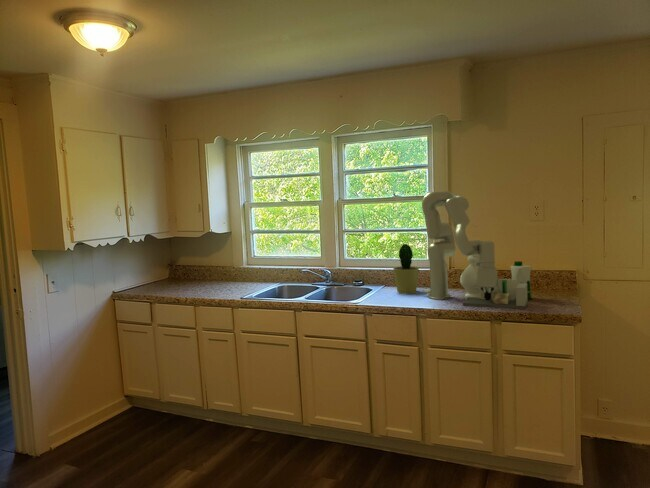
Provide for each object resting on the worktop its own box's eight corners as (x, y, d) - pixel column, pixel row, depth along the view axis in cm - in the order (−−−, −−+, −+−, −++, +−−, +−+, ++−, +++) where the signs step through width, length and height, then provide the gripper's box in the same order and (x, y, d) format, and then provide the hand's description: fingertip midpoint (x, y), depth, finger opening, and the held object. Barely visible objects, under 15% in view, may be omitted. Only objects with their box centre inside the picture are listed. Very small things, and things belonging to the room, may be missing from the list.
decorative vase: (500, 296, 273) (499, 252, 271) (474, 300, 267) (473, 254, 265) (479, 291, 290) (478, 249, 288) (454, 295, 283) (452, 252, 281)
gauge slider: (492, 303, 250) (492, 285, 250) (495, 299, 259) (495, 281, 258) (507, 304, 247) (507, 285, 246) (510, 300, 256) (509, 282, 255)
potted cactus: (389, 291, 305) (388, 243, 302) (412, 288, 309) (410, 241, 306) (400, 295, 290) (399, 245, 287) (424, 292, 295) (422, 243, 292)
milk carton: (522, 296, 270) (522, 260, 268) (533, 299, 261) (533, 262, 260) (509, 298, 268) (508, 261, 266) (519, 301, 259) (519, 263, 257)
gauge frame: (463, 305, 256) (462, 282, 255) (468, 300, 267) (467, 277, 266) (524, 309, 242) (524, 284, 241) (527, 303, 254) (527, 279, 252)
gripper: (470, 265, 253) (471, 300, 255) (501, 266, 246) (501, 302, 248) (473, 263, 260) (474, 297, 262) (503, 264, 253) (503, 299, 255)
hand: (487, 299), depth 255 cm, fingers closed
